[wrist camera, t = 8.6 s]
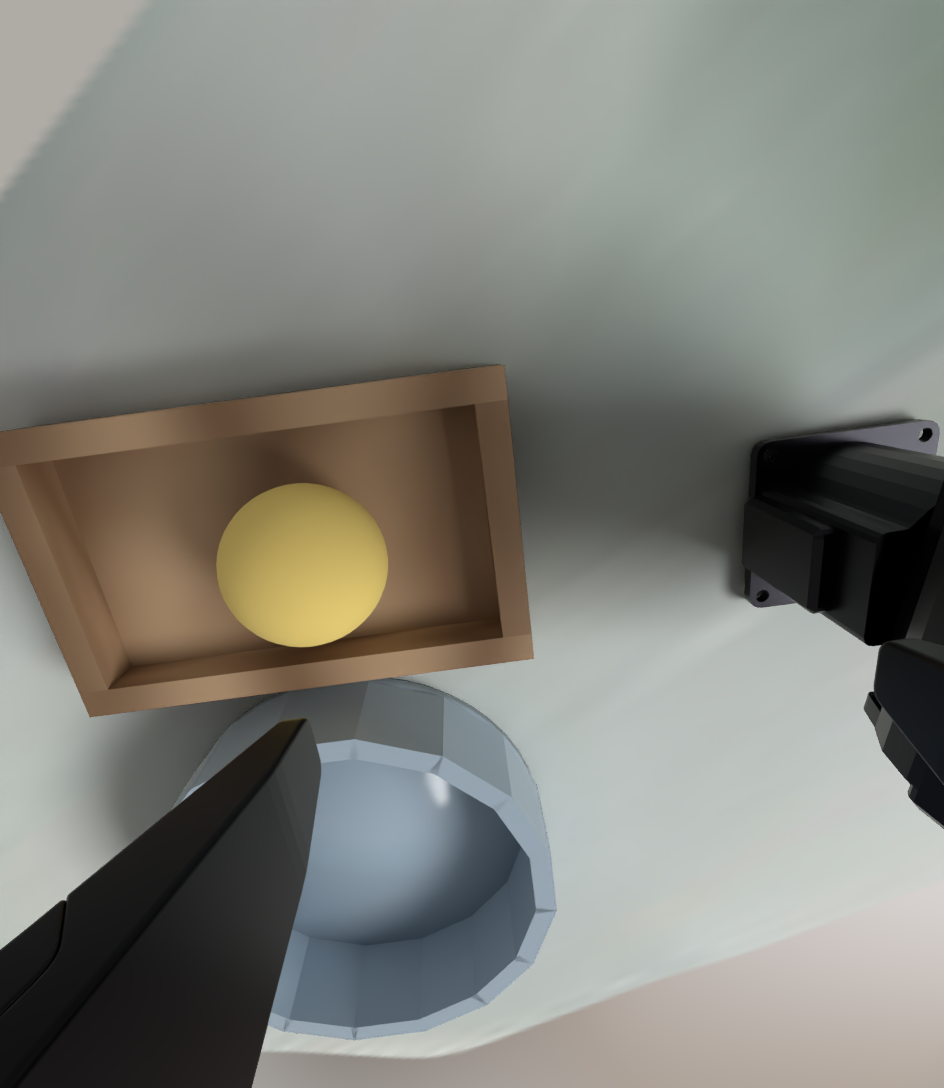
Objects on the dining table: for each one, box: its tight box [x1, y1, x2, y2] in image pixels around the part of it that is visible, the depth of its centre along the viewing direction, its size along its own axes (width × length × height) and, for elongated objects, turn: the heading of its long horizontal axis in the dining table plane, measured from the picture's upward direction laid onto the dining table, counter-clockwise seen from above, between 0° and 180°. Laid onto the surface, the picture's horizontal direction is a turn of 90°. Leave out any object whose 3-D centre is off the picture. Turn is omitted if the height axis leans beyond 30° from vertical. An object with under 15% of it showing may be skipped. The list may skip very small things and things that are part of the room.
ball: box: [216, 483, 388, 647], centre depth 16 cm, size 5×5×5 cm
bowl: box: [170, 678, 557, 1040], centre depth 22 cm, size 16×16×4 cm
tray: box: [0, 364, 534, 717], centre depth 19 cm, size 16×10×2 cm, turn 97°
